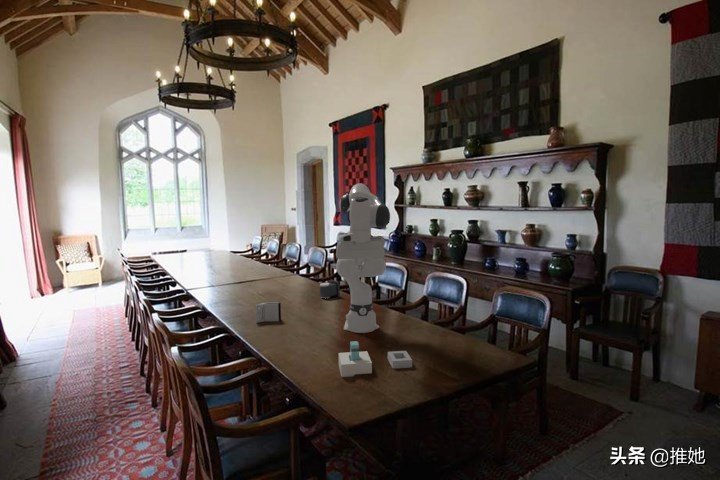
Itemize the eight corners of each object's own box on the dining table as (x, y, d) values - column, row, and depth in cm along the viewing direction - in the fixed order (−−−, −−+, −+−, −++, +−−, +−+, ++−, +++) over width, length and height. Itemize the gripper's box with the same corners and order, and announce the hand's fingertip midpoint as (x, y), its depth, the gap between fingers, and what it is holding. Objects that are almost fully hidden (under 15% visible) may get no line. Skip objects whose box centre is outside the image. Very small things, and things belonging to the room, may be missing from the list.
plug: (350, 365, 166) (350, 341, 165) (357, 364, 166) (357, 341, 165) (351, 369, 161) (351, 345, 160) (359, 369, 162) (359, 345, 161)
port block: (338, 364, 169) (338, 352, 168) (367, 362, 171) (367, 350, 170) (341, 377, 157) (341, 364, 157) (371, 375, 159) (371, 362, 158)
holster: (387, 360, 173) (387, 351, 172) (405, 359, 174) (405, 350, 174) (392, 370, 163) (392, 361, 163) (412, 369, 164) (412, 359, 164)
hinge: (255, 323, 226) (255, 305, 225) (255, 320, 231) (255, 303, 230) (281, 321, 229) (280, 303, 228) (280, 318, 234) (280, 301, 233)
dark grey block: (316, 298, 284) (315, 282, 282) (331, 294, 292) (330, 279, 291) (325, 300, 276) (324, 285, 274) (341, 296, 284) (340, 281, 282)
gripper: (383, 235, 173) (383, 267, 175) (335, 236, 170) (335, 268, 172) (386, 236, 167) (386, 269, 168) (336, 237, 164) (337, 271, 166)
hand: (360, 269), depth 170 cm, fingers closed
